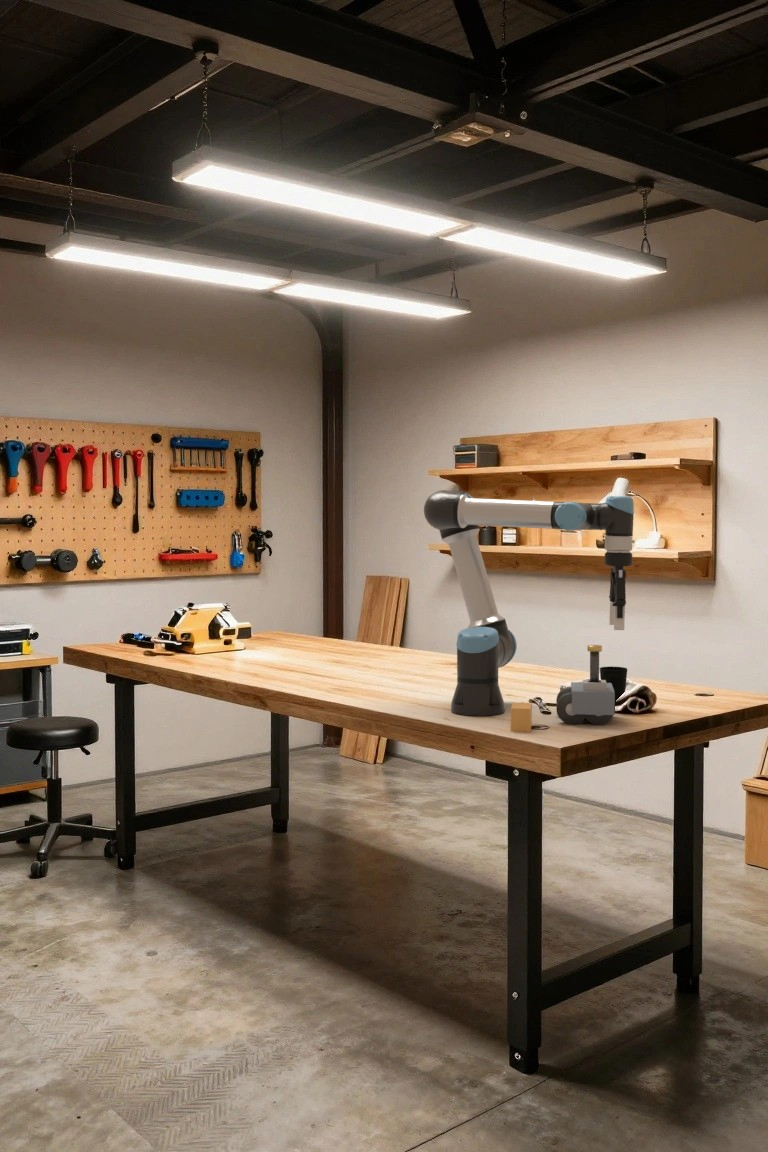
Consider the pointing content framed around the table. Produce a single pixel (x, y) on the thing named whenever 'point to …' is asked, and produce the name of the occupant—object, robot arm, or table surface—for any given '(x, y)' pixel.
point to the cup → (615, 678)
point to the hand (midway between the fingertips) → (616, 627)
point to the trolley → (586, 702)
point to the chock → (521, 717)
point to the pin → (594, 662)
